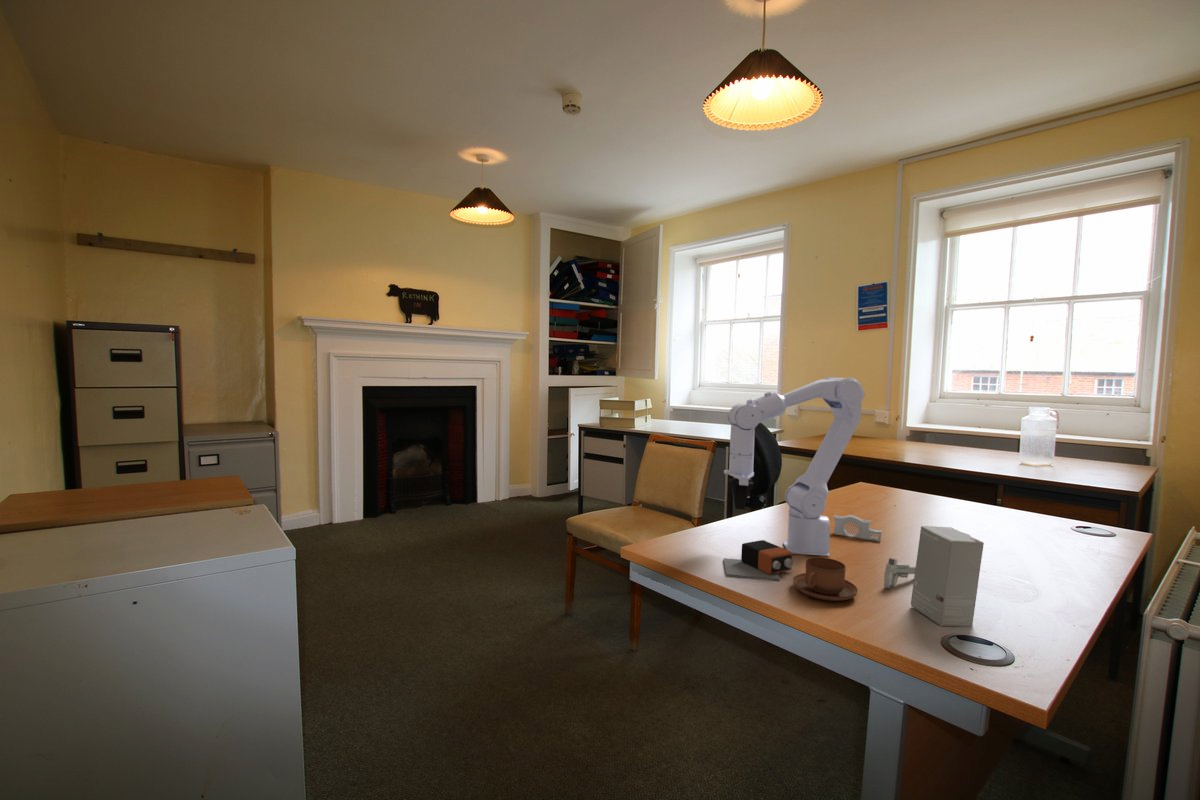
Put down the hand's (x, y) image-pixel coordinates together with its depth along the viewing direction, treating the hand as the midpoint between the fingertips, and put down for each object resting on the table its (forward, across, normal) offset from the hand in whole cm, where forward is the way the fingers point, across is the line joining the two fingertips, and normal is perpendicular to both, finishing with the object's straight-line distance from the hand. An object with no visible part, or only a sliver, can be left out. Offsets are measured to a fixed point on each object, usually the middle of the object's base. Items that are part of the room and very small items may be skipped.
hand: (739, 508), depth 132 cm
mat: (+10, +13, +2) cm, 17 cm away
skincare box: (+11, +29, +34) cm, 46 cm away
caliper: (+11, +11, +36) cm, 39 cm away
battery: (+8, +7, +2) cm, 11 cm away
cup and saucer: (+11, +22, +15) cm, 29 cm away
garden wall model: (+11, -18, +33) cm, 39 cm away
